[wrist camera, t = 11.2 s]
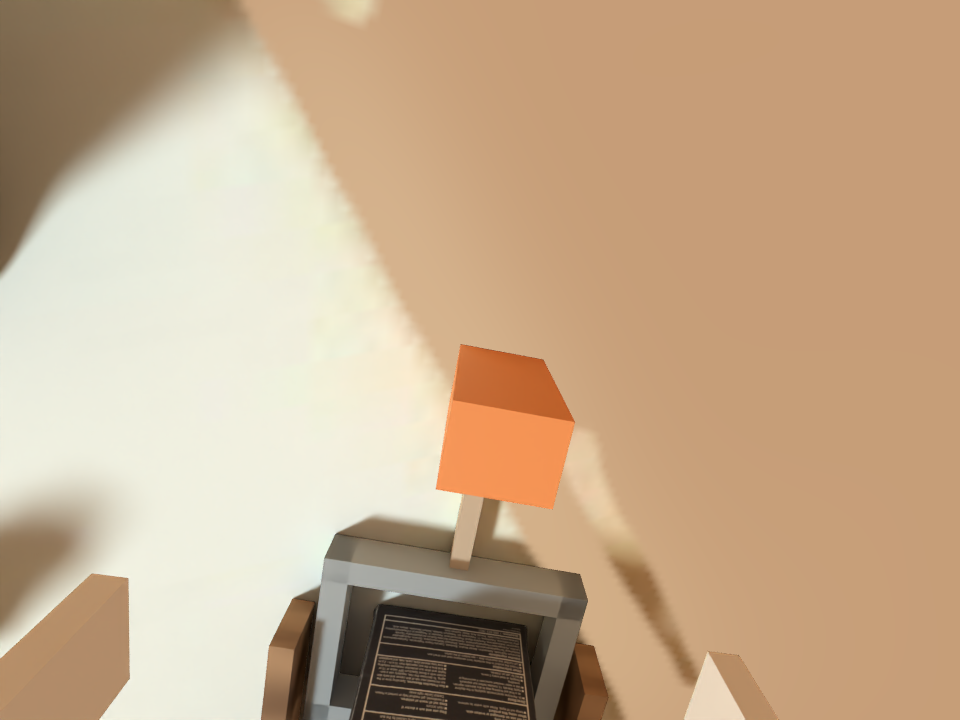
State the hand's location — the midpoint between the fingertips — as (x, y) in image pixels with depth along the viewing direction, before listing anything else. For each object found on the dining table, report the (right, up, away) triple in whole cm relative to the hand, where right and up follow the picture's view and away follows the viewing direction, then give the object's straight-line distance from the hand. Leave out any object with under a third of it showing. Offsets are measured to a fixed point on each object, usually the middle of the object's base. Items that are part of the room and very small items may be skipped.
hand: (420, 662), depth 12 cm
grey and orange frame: (0, -5, +22) cm, 22 cm away
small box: (-1, -13, +24) cm, 28 cm away
